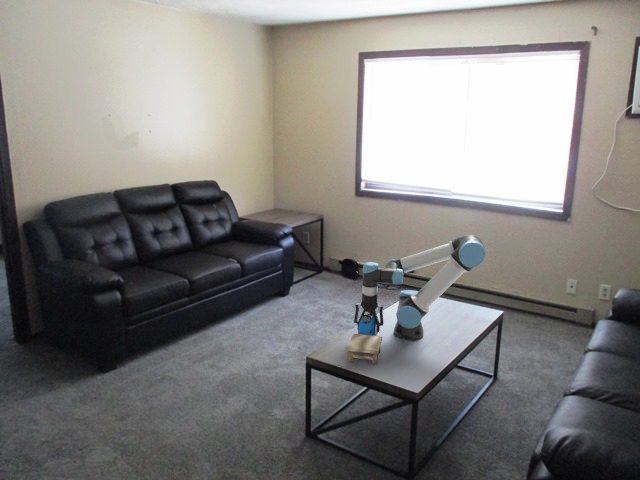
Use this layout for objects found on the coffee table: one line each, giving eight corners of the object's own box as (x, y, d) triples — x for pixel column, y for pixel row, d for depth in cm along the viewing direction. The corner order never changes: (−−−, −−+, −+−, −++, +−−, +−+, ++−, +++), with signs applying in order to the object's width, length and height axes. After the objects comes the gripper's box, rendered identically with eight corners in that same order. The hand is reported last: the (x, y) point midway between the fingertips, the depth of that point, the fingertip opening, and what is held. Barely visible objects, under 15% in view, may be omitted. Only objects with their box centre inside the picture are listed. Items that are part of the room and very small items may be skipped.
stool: (381, 351, 258) (382, 336, 256) (377, 366, 242) (378, 350, 241) (352, 347, 261) (353, 333, 259) (346, 362, 246) (347, 347, 244)
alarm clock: (367, 335, 276) (368, 307, 272) (378, 337, 273) (380, 309, 269) (357, 344, 265) (358, 315, 261) (368, 347, 262) (369, 318, 258)
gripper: (391, 292, 264) (389, 336, 270) (351, 289, 269) (349, 332, 274) (389, 297, 257) (387, 342, 263) (348, 294, 262) (347, 337, 267)
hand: (368, 337), depth 268 cm, fingers closed on alarm clock, 7 cm apart
